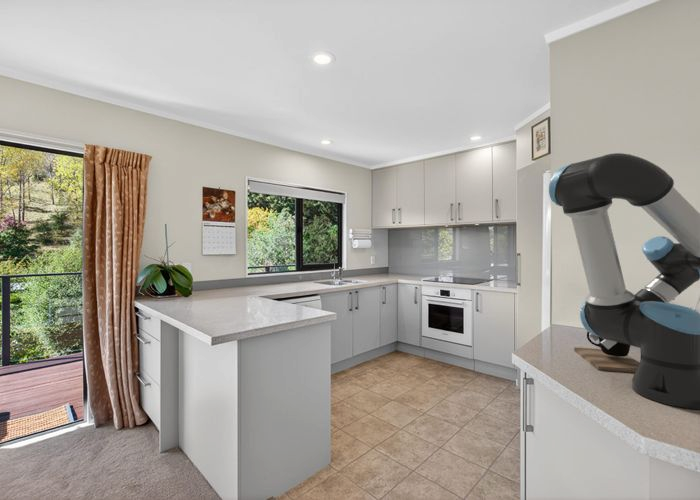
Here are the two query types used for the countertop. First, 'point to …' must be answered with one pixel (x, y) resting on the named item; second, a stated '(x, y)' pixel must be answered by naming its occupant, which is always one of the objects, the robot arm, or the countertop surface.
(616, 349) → the mug
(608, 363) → the walnut board
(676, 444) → the countertop surface
